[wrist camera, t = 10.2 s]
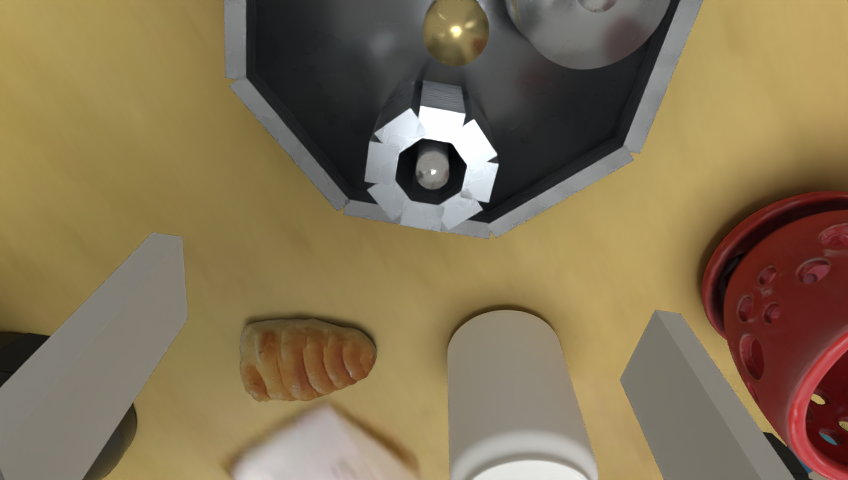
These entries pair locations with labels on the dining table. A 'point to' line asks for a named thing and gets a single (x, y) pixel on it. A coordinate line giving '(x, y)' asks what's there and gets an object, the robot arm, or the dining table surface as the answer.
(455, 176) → the gear
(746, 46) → the dining table surface
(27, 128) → the dining table surface
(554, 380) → the beverage can
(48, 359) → the robot arm
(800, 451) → the plant pot
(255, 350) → the pastry
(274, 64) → the tray
